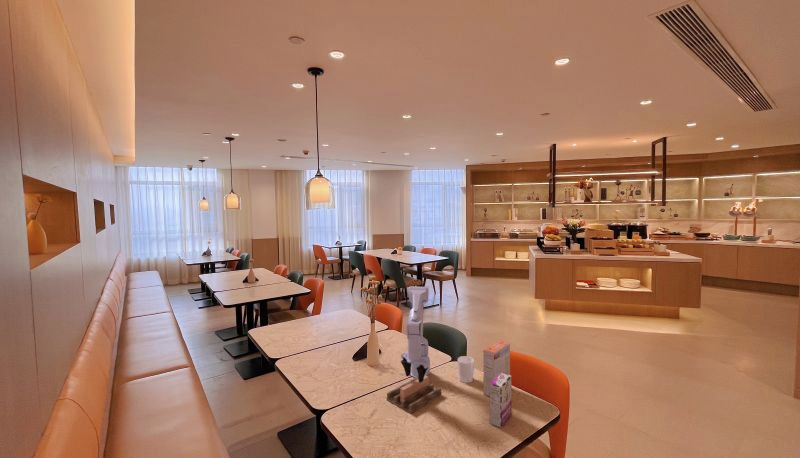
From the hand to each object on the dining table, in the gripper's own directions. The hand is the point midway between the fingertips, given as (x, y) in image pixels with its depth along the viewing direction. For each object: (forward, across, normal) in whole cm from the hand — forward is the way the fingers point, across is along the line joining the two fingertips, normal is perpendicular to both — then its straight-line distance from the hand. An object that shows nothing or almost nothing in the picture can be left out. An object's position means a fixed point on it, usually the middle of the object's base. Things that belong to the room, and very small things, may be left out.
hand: (414, 378), depth 155 cm
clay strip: (+8, 0, 0) cm, 8 cm away
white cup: (+9, +7, +29) cm, 31 cm away
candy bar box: (+9, +35, +12) cm, 38 cm away
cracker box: (+9, +23, +30) cm, 39 cm away
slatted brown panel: (+8, 0, 0) cm, 9 cm away
